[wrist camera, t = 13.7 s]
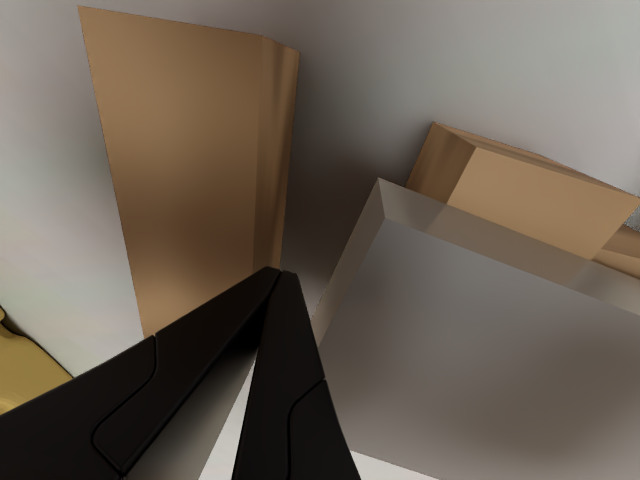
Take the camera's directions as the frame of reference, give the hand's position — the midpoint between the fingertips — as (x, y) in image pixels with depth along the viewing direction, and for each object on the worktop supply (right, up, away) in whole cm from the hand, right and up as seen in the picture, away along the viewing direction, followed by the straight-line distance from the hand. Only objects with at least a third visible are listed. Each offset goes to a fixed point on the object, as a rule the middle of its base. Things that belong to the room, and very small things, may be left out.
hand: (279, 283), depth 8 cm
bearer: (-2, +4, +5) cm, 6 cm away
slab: (+6, -2, +1) cm, 6 cm away
